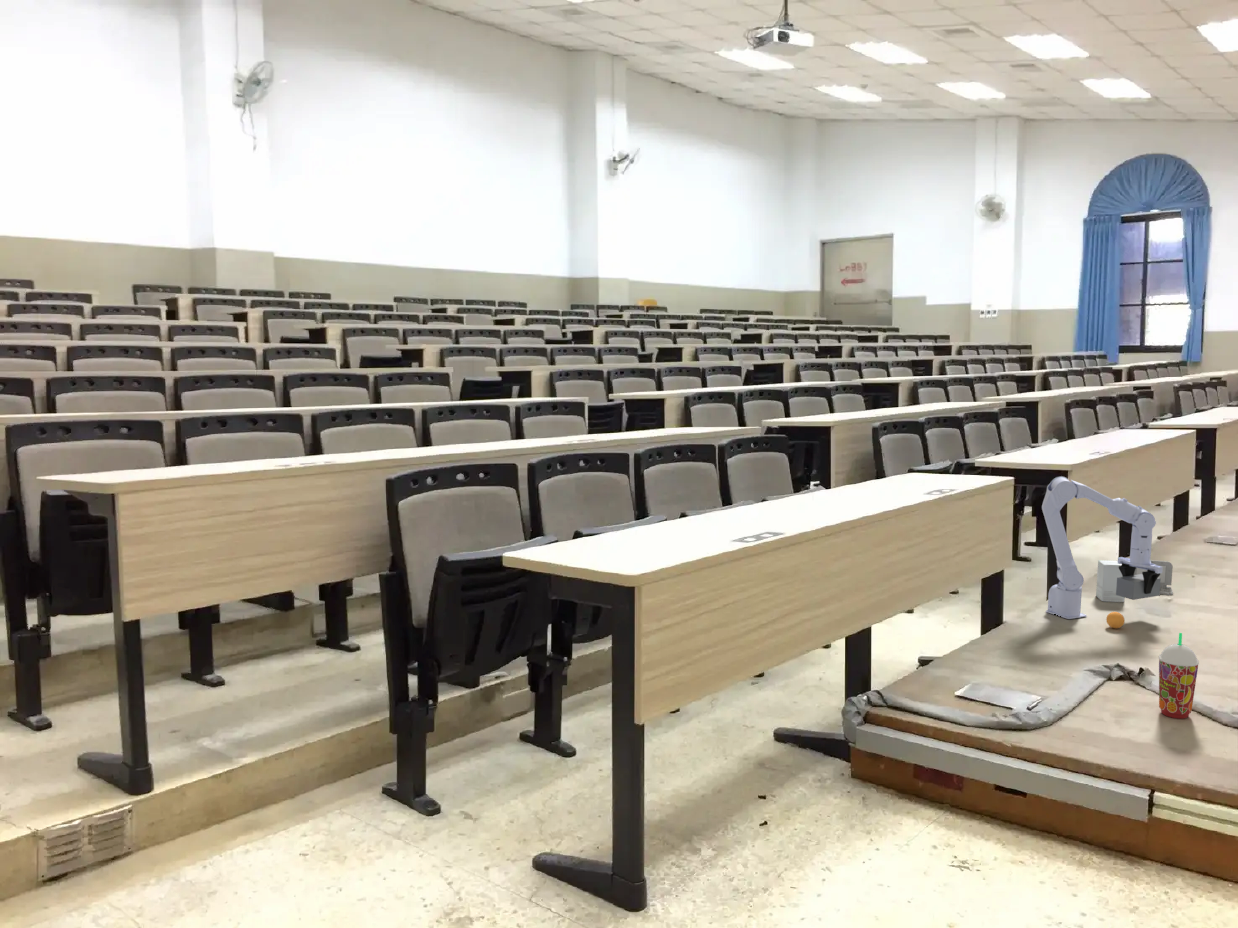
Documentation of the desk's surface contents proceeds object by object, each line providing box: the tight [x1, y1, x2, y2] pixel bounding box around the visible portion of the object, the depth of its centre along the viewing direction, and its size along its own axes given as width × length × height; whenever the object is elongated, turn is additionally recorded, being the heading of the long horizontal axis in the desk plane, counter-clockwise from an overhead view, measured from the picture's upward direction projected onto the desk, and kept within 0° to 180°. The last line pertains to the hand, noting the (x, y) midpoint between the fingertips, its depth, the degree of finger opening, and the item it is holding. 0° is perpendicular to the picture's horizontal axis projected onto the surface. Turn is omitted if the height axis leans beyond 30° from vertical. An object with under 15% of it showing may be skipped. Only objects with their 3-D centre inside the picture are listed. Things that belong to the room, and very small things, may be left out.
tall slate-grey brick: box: [1116, 574, 1161, 601], centre depth 316 cm, size 6×12×6 cm, turn 114°
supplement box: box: [1095, 559, 1126, 603], centre depth 340 cm, size 7×7×13 cm
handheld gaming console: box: [1134, 559, 1174, 596], centre depth 351 cm, size 13×9×10 cm
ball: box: [1105, 611, 1125, 629], centre depth 308 cm, size 5×5×5 cm
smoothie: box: [1158, 632, 1200, 720], centre depth 239 cm, size 8×8×20 cm
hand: (1137, 590), depth 316 cm, fingers closed on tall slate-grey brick, 6 cm apart
